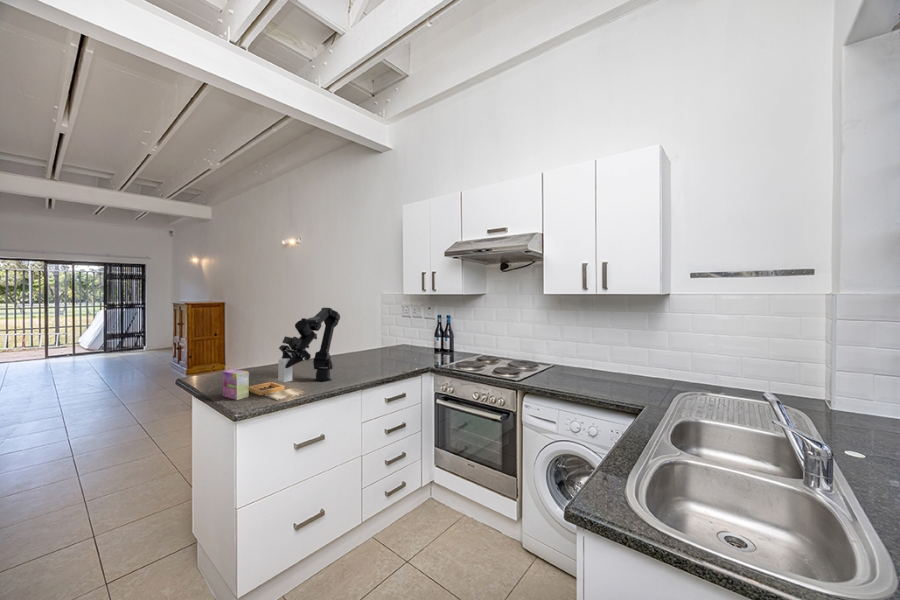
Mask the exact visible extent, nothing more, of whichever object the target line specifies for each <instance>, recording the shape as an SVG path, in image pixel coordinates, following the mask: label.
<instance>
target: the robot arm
mask: <svg viewBox="0 0 900 600" xmlns="http://www.w3.org/2000/svg"><path fill="white" fill-rule="evenodd" d="M340 319H341V315H340V313H339V312H338V311H337V310H334V309H333V308H331V307H322V308H321V310H319V311H318V313H317V314H315V315H314V316H312V317H309V318H306V317H305V318H301V319H300V320H298V321H297V322H296V323H295V324H294V327H295V330H296V331H297V332H298V333H297V334H299V337H297V336H293V337H290V336H284V337H283V340H282V342H281V343H282V345H279V347H278V349H279V350H280V351H281V352H282V356H281V358H280V359H283V358H289V359H290V360H289V362H288V363H287V364H286V366H285V368H289V367H291V366H292V367H293V366H295V365H296V364H298V363H301V362H304V361H307V362H309V360H310V359H311V358H312V357H311V356H312V355H311V353H309V352H308V350H307V349H309V348H310V344H311V343H312V342H313V341H314V340H317V339H318V333H315V332H319V331H320V329H321V328H322V323H324V325H325V327H324V330H323V334H322V339H321V344H320V348H319V351H316V352H315V354H314V357H313V362H312V363H313V370H316V372H315V379H314V381H317V382H321V383H323V381H324V382H327V381H331V380H332V378H331V373H330V372H331V370H333V368H334V364H333V362H332V360H331V358H332V357H331V354H330V349H331V343H332V339H333V334H334V329H335V328H336V327H337V326H338V324H339V322H340Z"/></svg>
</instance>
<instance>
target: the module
mask: <svg viewBox="0 0 900 600" xmlns="http://www.w3.org/2000/svg"><path fill="white" fill-rule="evenodd" d="M289 360H290V359H289V358H283V359H281V358H278V362H277V363H278V366H277V367H278V369H277V370H278V373H277V376H278V377H277V381H279V382H283V383H287V382H291V381H293V366H291V367H289V368H285V366H286V364H287V363H288V362H289Z"/></svg>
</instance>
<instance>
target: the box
mask: <svg viewBox="0 0 900 600" xmlns="http://www.w3.org/2000/svg"><path fill="white" fill-rule="evenodd" d="M249 380H250V372H249V371H246V370H243V369H242V370H241V369H238V368H237V369H236V368H232V369H227V370H223V371H222V396H225V397H224V398H227V397H228V399H232V400H235V401H238V400H239V401H240V400H242V399H247V398H249V394H250V392H249V386H250V385H249V383H250V382H249Z"/></svg>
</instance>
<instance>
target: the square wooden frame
mask: <svg viewBox="0 0 900 600" xmlns="http://www.w3.org/2000/svg"><path fill="white" fill-rule="evenodd" d="M269 386H271V387H269ZM264 387H266V388H267V389H265V388H264ZM273 387H274V388H273ZM285 387H286V386H285V385H283V384H280V383H275V382H273V381H271V382H265V383H260V384H259V383H258V384H255V385H249V391H250V392H249V393H252V392H253V393H252V394H254V393H255V395H257V394H258V395H257V396H260V395H261V396H265V395H264V394H268V393H273V392H277V391H282V390H286V388H285ZM260 388H262V389H260Z"/></svg>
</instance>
